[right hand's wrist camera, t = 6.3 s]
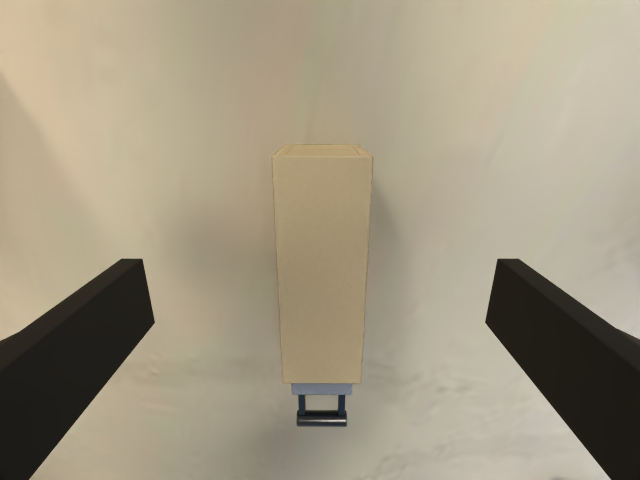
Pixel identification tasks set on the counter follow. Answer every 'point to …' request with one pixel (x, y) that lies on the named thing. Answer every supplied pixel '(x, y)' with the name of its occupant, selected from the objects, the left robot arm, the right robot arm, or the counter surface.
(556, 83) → the counter surface
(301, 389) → the drawer
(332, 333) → the cabinet
